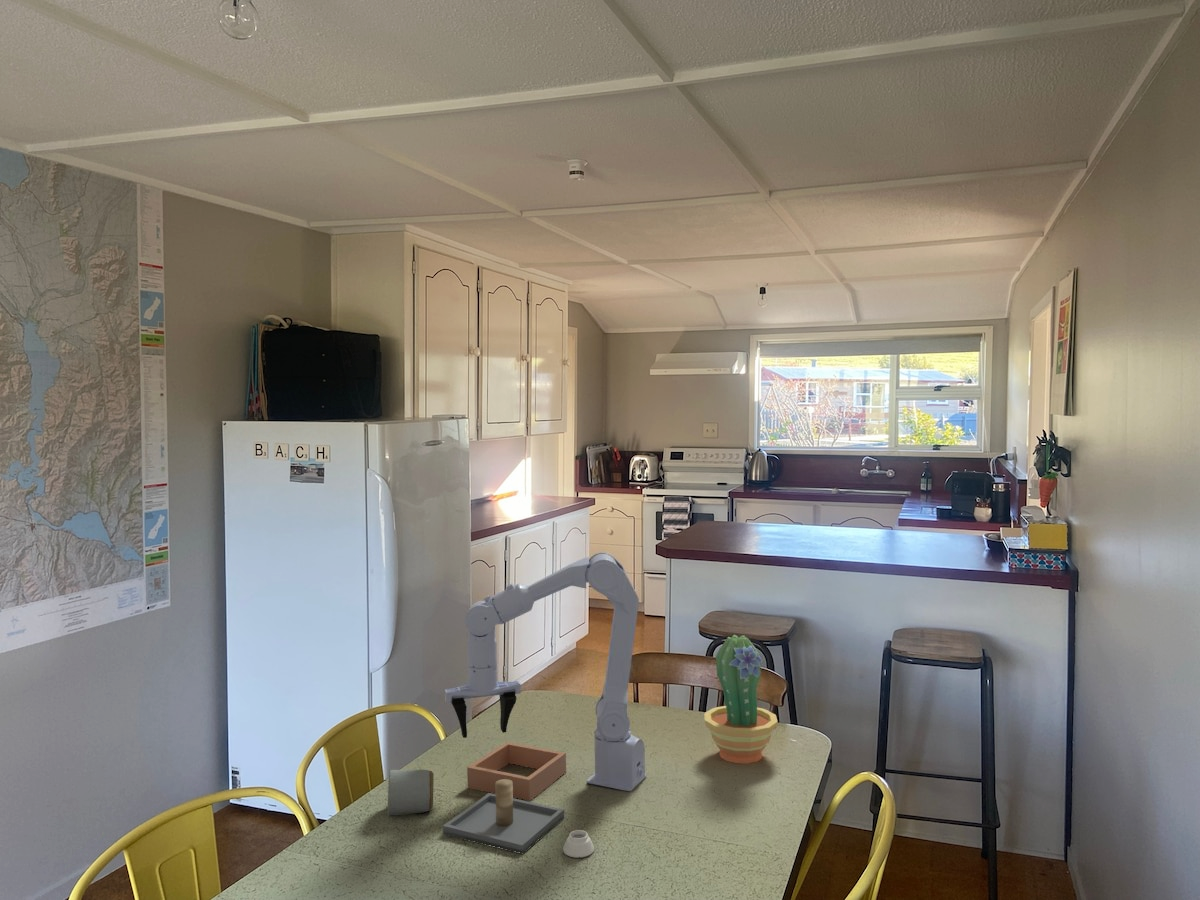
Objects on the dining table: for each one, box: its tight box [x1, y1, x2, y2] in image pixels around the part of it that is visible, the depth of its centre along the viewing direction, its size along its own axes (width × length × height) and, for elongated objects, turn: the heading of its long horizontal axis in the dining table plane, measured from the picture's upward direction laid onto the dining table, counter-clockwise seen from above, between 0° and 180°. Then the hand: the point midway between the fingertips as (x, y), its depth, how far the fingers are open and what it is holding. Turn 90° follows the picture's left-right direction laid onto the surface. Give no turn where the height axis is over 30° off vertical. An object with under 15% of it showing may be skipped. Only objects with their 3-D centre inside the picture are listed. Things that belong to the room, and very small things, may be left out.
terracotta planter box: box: [466, 741, 567, 802], centre depth 167 cm, size 14×14×4 cm
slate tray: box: [442, 792, 565, 854], centre depth 148 cm, size 16×14×2 cm
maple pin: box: [495, 779, 513, 826], centre depth 148 cm, size 3×3×7 cm
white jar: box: [562, 829, 595, 859], centre depth 139 cm, size 5×3×5 cm
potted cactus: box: [703, 634, 778, 764], centre depth 177 cm, size 15×15×25 cm
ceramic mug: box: [387, 769, 435, 816], centre depth 156 cm, size 11×8×8 cm
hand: (484, 733), depth 165 cm, fingers open, 7 cm apart
